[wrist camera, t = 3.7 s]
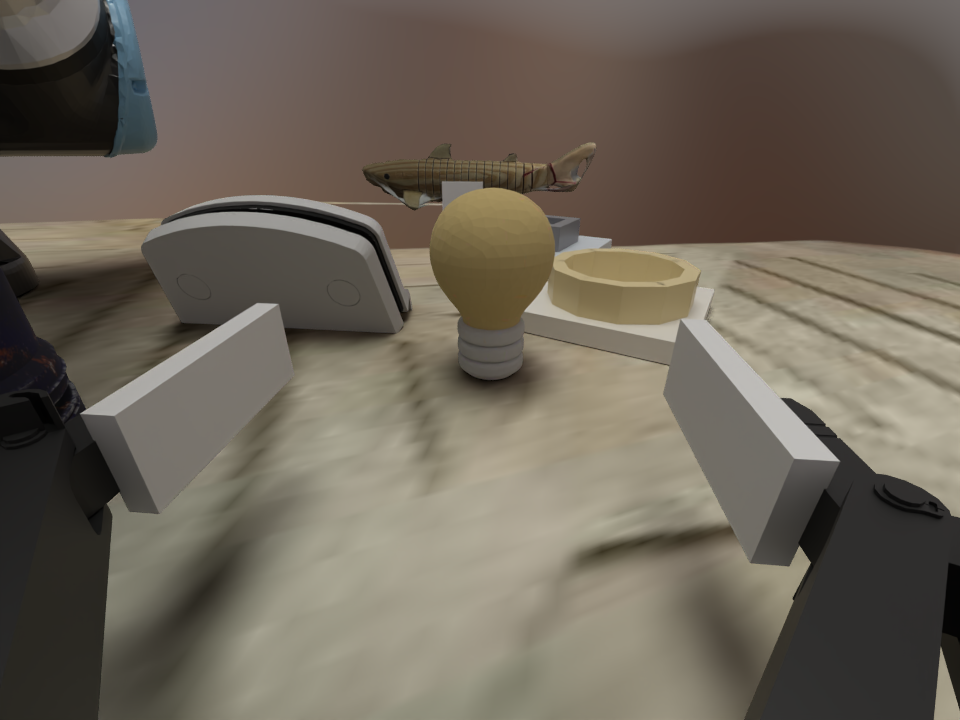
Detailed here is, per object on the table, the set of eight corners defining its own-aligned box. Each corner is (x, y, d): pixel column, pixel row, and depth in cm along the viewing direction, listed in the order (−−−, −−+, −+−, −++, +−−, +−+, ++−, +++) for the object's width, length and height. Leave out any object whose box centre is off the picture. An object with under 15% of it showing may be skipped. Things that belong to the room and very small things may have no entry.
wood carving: (594, 226, 65) (604, 143, 60) (360, 225, 66) (350, 142, 61) (583, 216, 73) (591, 141, 68) (374, 215, 74) (367, 141, 69)
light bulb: (562, 390, 24) (582, 194, 19) (445, 406, 22) (437, 198, 18) (524, 342, 29) (533, 180, 25) (429, 351, 28) (419, 183, 23)
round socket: (507, 328, 31) (509, 273, 29) (567, 283, 40) (571, 239, 39) (688, 369, 26) (704, 305, 24) (710, 307, 35) (722, 257, 33)
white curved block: (417, 307, 35) (394, 185, 28) (403, 350, 32) (374, 225, 24) (221, 299, 37) (151, 182, 29) (189, 338, 33) (102, 218, 26)
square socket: (468, 261, 47) (467, 223, 46) (517, 240, 57) (518, 208, 55) (574, 278, 42) (579, 235, 40) (610, 252, 51) (615, 216, 49)
